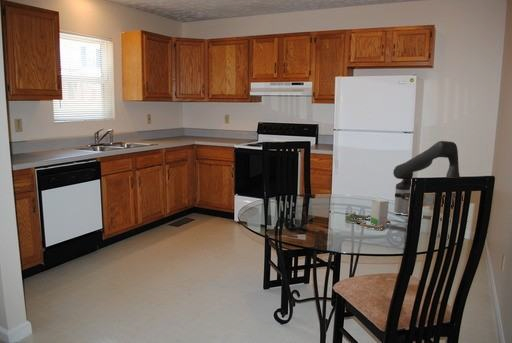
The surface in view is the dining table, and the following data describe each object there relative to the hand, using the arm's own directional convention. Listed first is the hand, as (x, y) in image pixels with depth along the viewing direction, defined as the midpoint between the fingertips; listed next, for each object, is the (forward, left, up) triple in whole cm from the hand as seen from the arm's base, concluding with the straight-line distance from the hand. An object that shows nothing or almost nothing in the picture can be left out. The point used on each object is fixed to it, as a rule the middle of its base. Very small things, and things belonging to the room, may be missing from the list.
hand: (395, 194), depth 240 cm
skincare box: (0, -9, -20) cm, 22 cm away
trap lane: (0, -15, -20) cm, 25 cm away
